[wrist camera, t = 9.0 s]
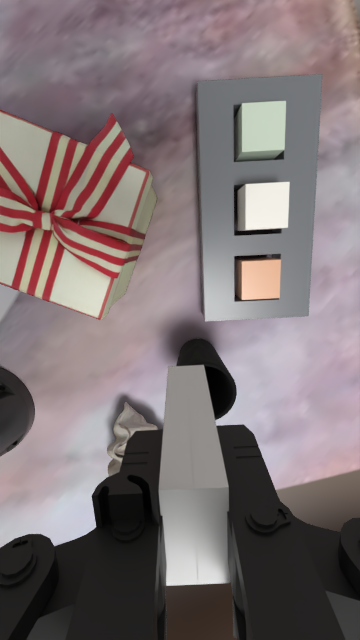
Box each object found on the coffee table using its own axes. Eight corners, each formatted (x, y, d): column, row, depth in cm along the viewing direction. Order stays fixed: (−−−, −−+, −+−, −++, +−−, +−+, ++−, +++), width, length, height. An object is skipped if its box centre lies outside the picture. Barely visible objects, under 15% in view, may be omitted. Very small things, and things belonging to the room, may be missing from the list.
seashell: (107, 471, 53) (91, 524, 43) (118, 394, 49) (104, 432, 39) (165, 480, 53) (162, 534, 43) (182, 404, 49) (182, 445, 40)
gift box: (167, 164, 40) (159, 112, 24) (134, 297, 45) (108, 332, 28) (39, 124, 39) (-65, 39, 22) (18, 265, 44) (-81, 281, 27)
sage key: (234, 162, 39) (241, 151, 35) (233, 120, 38) (242, 103, 33) (271, 160, 39) (284, 149, 35) (272, 118, 38) (286, 100, 33)
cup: (192, 322, 46) (197, 350, 34) (232, 350, 47) (250, 387, 35) (162, 360, 47) (157, 400, 36) (202, 387, 49) (209, 434, 37)
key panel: (202, 314, 45) (205, 321, 42) (195, 97, 38) (197, 81, 34) (297, 309, 45) (308, 316, 41) (307, 90, 38) (322, 74, 34)
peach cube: (234, 293, 44) (241, 299, 39) (234, 259, 43) (241, 261, 38) (268, 291, 44) (279, 298, 39) (269, 257, 42) (280, 259, 38)
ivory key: (237, 230, 40) (245, 229, 35) (237, 191, 38) (245, 184, 34) (274, 228, 40) (287, 227, 35) (275, 189, 38) (289, 181, 33)
